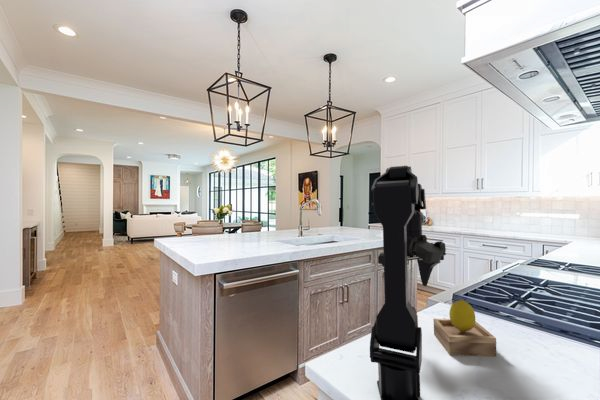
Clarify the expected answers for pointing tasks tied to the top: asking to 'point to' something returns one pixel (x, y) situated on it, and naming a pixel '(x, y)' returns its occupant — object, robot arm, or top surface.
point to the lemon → (462, 316)
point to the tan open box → (465, 339)
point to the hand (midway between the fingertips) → (412, 288)
